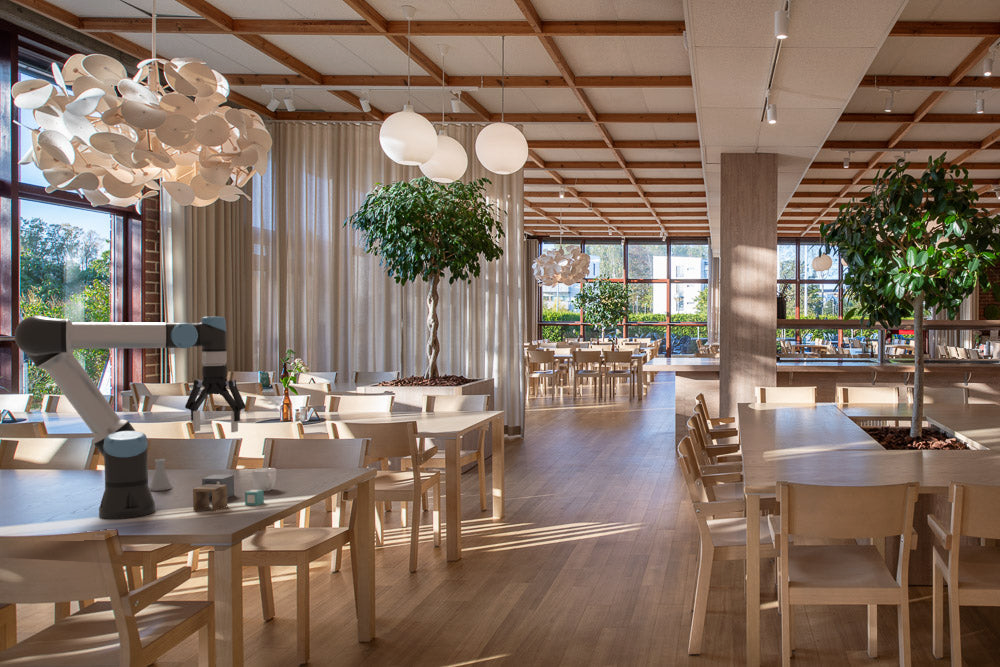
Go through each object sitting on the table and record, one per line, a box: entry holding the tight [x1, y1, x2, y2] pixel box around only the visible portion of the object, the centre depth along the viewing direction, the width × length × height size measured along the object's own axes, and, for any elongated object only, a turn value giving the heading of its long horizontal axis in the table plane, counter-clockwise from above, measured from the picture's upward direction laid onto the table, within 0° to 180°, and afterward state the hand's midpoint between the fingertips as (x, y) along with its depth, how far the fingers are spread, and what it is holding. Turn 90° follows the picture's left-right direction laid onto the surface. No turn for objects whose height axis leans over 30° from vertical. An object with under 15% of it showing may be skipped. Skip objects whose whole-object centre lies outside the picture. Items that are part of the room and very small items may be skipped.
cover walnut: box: [192, 484, 228, 512], centre depth 260 cm, size 7×7×6 cm
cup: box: [251, 467, 277, 492], centre depth 287 cm, size 8×10×7 cm
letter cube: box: [244, 489, 265, 506], centre depth 266 cm, size 4×4×4 cm
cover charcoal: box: [201, 474, 235, 498], centre depth 277 cm, size 7×7×6 cm
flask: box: [149, 458, 173, 492], centre depth 292 cm, size 7×7×10 cm
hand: (215, 431), depth 278 cm, fingers open, 13 cm apart
